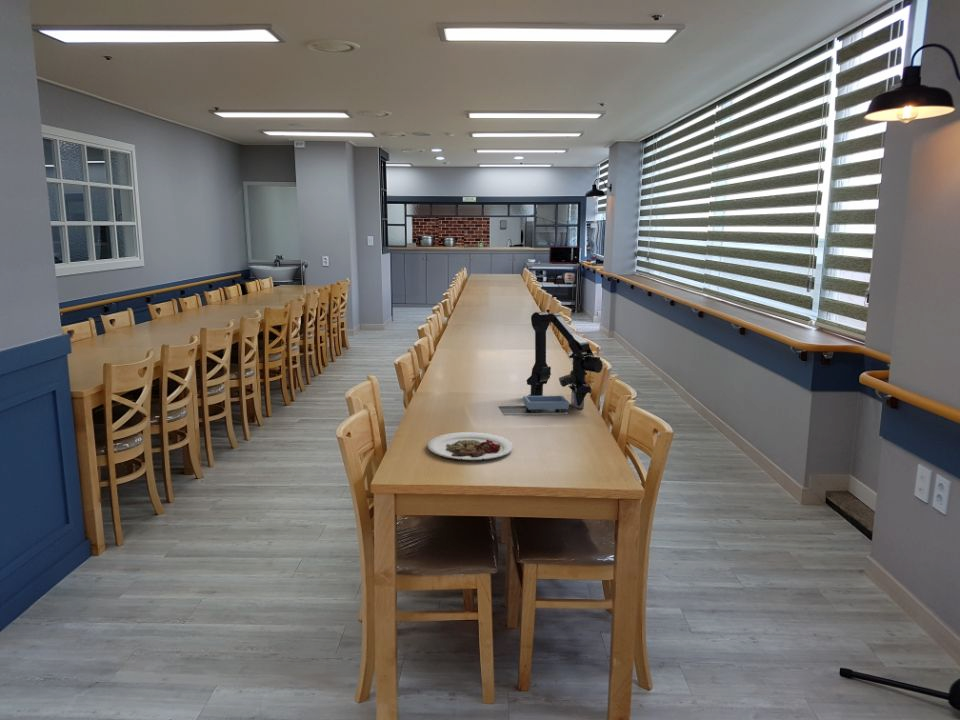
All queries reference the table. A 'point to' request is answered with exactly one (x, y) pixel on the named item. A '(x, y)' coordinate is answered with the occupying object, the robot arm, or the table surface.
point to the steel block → (574, 401)
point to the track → (528, 411)
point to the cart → (545, 402)
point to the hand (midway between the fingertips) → (577, 404)
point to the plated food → (470, 446)
